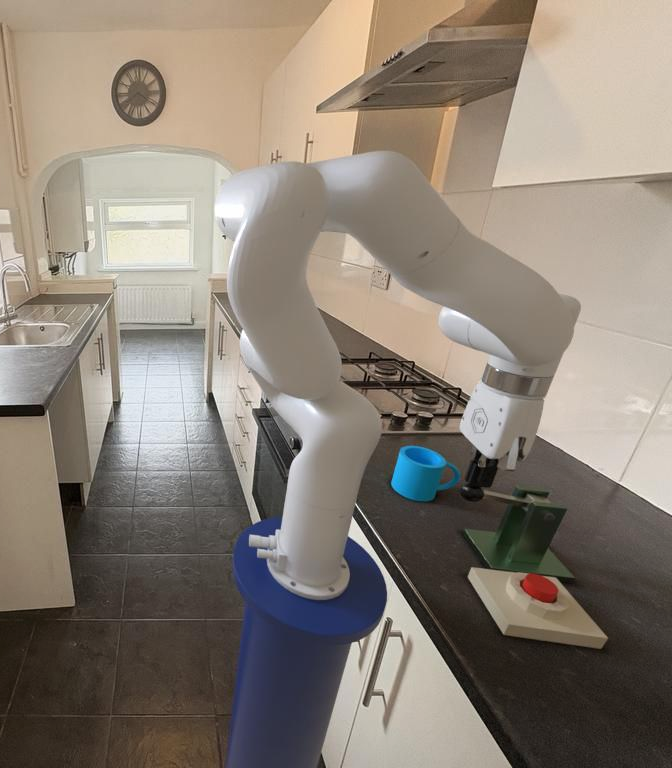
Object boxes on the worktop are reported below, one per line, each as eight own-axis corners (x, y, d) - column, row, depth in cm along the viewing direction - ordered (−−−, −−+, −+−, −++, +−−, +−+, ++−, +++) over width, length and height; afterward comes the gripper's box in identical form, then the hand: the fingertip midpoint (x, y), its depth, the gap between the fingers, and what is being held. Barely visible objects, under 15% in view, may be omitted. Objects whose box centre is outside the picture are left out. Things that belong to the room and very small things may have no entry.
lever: (462, 503, 67) (471, 488, 66) (452, 491, 70) (461, 476, 68) (547, 521, 66) (558, 506, 64) (534, 508, 69) (544, 493, 67)
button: (531, 601, 59) (536, 592, 58) (516, 580, 62) (520, 571, 61) (560, 605, 58) (565, 596, 58) (543, 583, 62) (547, 575, 61)
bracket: (489, 572, 68) (516, 511, 63) (462, 533, 76) (484, 475, 71) (572, 583, 66) (607, 520, 61) (535, 541, 74) (563, 483, 69)
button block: (503, 635, 58) (513, 615, 56) (467, 577, 67) (474, 558, 65) (601, 649, 56) (614, 629, 55) (550, 587, 65) (560, 568, 64)
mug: (398, 498, 85) (407, 465, 82) (386, 475, 92) (394, 443, 89) (462, 506, 83) (475, 472, 80) (445, 481, 90) (456, 450, 87)
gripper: (461, 360, 67) (432, 456, 74) (518, 400, 53) (475, 512, 61) (513, 363, 66) (478, 460, 73) (584, 404, 52) (533, 518, 60)
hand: (477, 483), depth 67 cm, fingers closed
